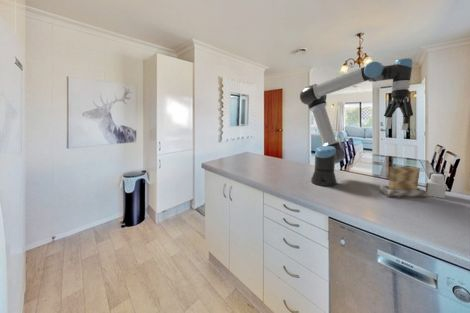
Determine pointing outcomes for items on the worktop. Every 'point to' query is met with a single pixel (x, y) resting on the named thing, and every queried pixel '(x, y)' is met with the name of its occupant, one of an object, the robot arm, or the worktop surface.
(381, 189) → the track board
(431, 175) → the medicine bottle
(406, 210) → the worktop surface
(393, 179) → the door slab
